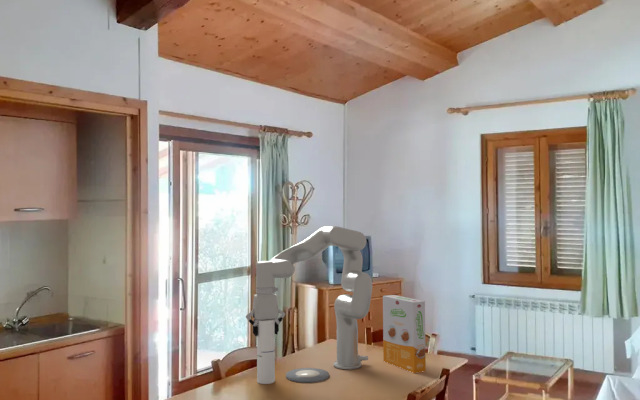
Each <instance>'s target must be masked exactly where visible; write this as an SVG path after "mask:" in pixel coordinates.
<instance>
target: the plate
mask: <svg viewBox="0 0 640 400" xmlns="http://www.w3.org/2000/svg"><path fill="white" fill-rule="evenodd" d="M329 377H330V373H329V371H327V370H325V369H323V368H322V369H321V368H315V367H301V368H295V369H291V370H289V371H287V372H286V373H285V378H286V379H287V380H288V381H291V382H294V383H303V384H304V383H305V384H309V383H319V382H324V381H326V380H328V379H329Z"/></svg>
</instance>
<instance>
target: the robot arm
mask: <svg viewBox="0 0 640 400" xmlns="http://www.w3.org/2000/svg"><path fill="white" fill-rule="evenodd" d="M366 245H367V237H366V235H365V234H364V233H363V232H361V231H358V230H353V229H348V228H345V227H342V226H335V225H325V226H322V227H319V229H317V230H316V231H314V232H313V233H312V234H311V235H310V236H309V235H308V237H307V238H305V239H304V240H302V241H300V242H298V243H296V244H294V245H292V246H290V247H288V248H286V249H284V250H282V251H281V252H279V253H278V254H276V255H275V256H274V257H272V258H271V259H270V260H260V261H257V262H256V265H255V267H256V271H255V273H256V274H255V275H256V279H255V280H256V283H255V284H256V285H255V286H256V290H255V291H256V292H255V293H256V294H254V295H253V301H252V302H253V303H252V310H251V311H250V312H249V313H247V314H246V315H245V318H246V320H247V321H248V322H249V323H250V325H252V334H253V336H255V337H257V336H258V327H257V323H258V321H259V320H269V319H275V335H278V332H279V331H280V330H279V329H280V328H279V327H280V326H279V325H280V323H281V322H282V321H283V319H284V317H285V316H286V312H284V311H282V310H281V309H280V308H279V301H278V296H277V294H276V292H279V288H278V287H276V284H275V283H276V279H289V278H291V277H293V275H294V273H295V271H296V269H295V268H296V267H295V265H294V264H296V263H297V264H298V263H300V262H306V261H309V260H312V259H314V258H315V257H316V256H318V255H319V254H321V253H322V252H324V251H325V250H326V249H328V247H330V246H331V247H332V246H333V247H337V248H339V250H340V251H341V253H342V256H343V266H342V271H341V272H342V273H341V279H340V280H341V281H340V285H341V288H342V289H343V290H344V291H345V292H349V293H352V294H344V293H343V294H340V295H339V296H337V297H336V299H335V300H334V303H333V305H334V306H333V308H334V313H335V321H336V322H335V323H336V361H334V362H333V363H332V364H333V365H332V366H333V367H334V368H336V369H340V370H356V369H360V368H361V367H362V362H363V361H368V360H369V357H368V355H359V330H358V329H359V324H358V320H363V319H364V318H366V317H367V315H368V314H369V310H370V306H371V305H370V304H371V300H372V294H373V293H372V292H373V280H372V278H371V276H370V274H369V273H367V272H363V262H364V258H363V254H362V252H361V251H362V250H363V249H364V248H365V247H366ZM279 314H280V316H279ZM251 317H252V318H253V320H252V318H251Z"/></svg>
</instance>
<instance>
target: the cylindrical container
mask: <svg viewBox="0 0 640 400" xmlns="http://www.w3.org/2000/svg"><path fill="white" fill-rule="evenodd" d="M257 327H258V336H256V354H257V355H256V375H257V376H256V381H257V382H256V383H257V384H261V385H267V384H268V385H270V384H273V383H274V382H275V381H276V377H275V376H276V375H275V374H276V373H275V372H276V371H275V370H276V369H275V368H276V367H275V366H276V365H275V364H276V363H275V360H276V358H275V357H276V356H275V355H276V354H275V352H276V351H275V348H276V347H275V342H276V341H275V339H276V338H275V336H276V334H275V319H269V320H259V321H258V323H257Z"/></svg>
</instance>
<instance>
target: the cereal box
mask: <svg viewBox="0 0 640 400" xmlns="http://www.w3.org/2000/svg"><path fill="white" fill-rule="evenodd" d="M382 333H383V334H382V336H383V337H382V339H383V342H382V344H383V345H382V347H383V351H382V352H383V358H382V359H383V360H382V361H383V362H384V361H385V363H387V362H388V363H387V364H389V363H390V364H389V365H392V364H393V365H392V366H394V365H395V367H397V366H398V367H397V368H399V367H401V368H400V369H402V368H403V369H402V370H404V369H405V370H404V371H407V370H408V371H407V372H409V371H411V372H410V373H412V372H413V373H412V374H417V373H416V372H419V373H423V372H422V371H425V372H426V371H427V370H426V369H427V368H426V366H427V365H426V359H427V358H426V301H425V300H421V299H416V298H412V297H411V298H410V297H406V296H401V295H397V294H388V295H387V294H386V295H383V296H382Z"/></svg>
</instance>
